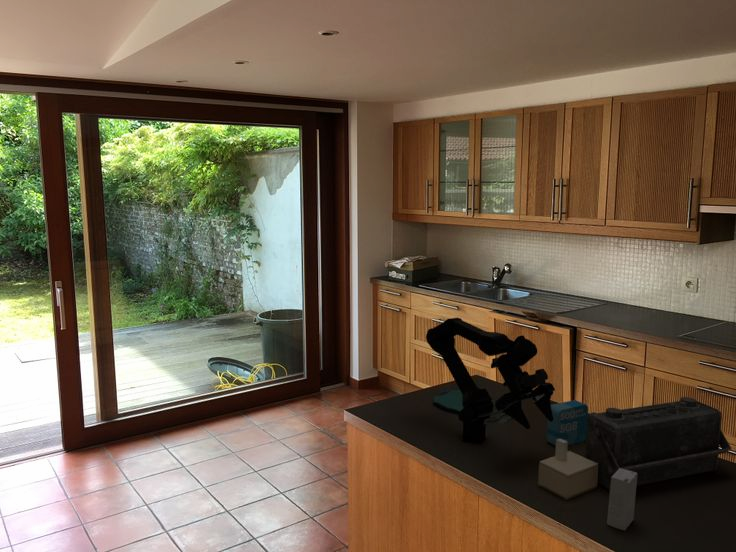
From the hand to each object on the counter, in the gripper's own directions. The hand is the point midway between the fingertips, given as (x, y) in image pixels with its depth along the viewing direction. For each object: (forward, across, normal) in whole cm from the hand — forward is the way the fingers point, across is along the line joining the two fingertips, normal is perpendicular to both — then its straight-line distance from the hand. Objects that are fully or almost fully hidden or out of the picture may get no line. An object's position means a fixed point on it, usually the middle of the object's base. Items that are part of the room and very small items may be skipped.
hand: (540, 424), depth 166 cm
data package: (+4, +22, +15) cm, 27 cm away
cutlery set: (-20, +18, +42) cm, 50 cm away
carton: (+16, -1, +2) cm, 17 cm away
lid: (+12, -1, -2) cm, 12 cm away
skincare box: (+29, -5, -11) cm, 32 cm away
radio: (+23, +24, -4) cm, 33 cm away
